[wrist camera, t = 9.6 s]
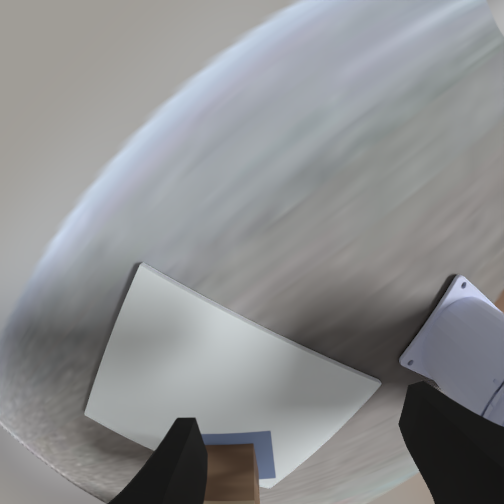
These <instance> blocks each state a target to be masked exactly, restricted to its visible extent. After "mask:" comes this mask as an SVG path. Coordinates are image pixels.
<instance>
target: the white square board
mask: <svg viewBox="0 0 504 504" xmlns="http://www.w3.org/2000/svg"><path fill="white" fill-rule="evenodd" d="M380 386H381V382H380V380H379V379H377V378H374V377H372V376H369V375H367V374H365V373H362V372H360V371H358V370H355V369H353V368H351V367H348V366H346V365H344V364H342V363H339V362H337V361H335V360H333V359H330V358H328V357H326V356H324V355H322V354H319V353H317V352H315V351H313V350H311V349H308V348H306V347H304V346H302V345H300V344H298V343H296V342H294V341H291V340H289V339H287V338H285V337H283V336H281V335H279V334H277V333H275V332H273V331H271V330H269V329H267V328H265V327H263V326H261V325H259V324H257V323H255V322H253V321H251V320H249V319H247V318H245V317H243V316H241V315H239V314H237V313H235V312H233V311H231V310H229V309H227V308H225V307H223V306H221V305H220V304H218V303H216V302H214V301H212V300H210V299H208V298H206V297H204V296H203V295H201V294H199V293H197V292H195V291H193V290H191V289H190V288H188V287H186V286H184V285H182V284H181V283H179V282H177V281H175V280H173V279H172V278H170V277H168V276H166V275H164V274H163V273H161V272H159V271H157V270H156V269H154V268H152V267H150V266H149V265H147V264H145V263H142V264H140V266H139V268H138V270H137V272H136V275H135V277H134V279H133V282H132V284H131V286H130V289H129V291H128V293H127V296H126V298H125V301H124V303H123V306H122V308H121V310H120V313H119V315H118V318H117V321H116V323H115V326H114V328H113V331H112V333H111V336H110V339H109V341H108V344H107V347H106V350H105V352H104V355H103V358H102V361H101V364H100V367H99V370H98V372H97V375H96V378H95V381H94V384H93V388H92V391H91V394H90V397H89V400H88V403H87V407H86V410H85V413H84V415H86V416H87V417H89V418H91V419H92V420H94V421H96V422H98V423H99V424H101V425H103V426H105V427H107V428H109V429H110V430H112V431H114V432H116V433H118V434H120V435H122V436H124V437H126V438H128V439H130V440H132V441H134V442H136V443H138V444H140V445H143V446H145V447H147V448H149V449H151V450H154V451H155V450H156V449H157V447H158V446H159V444H160V443H161V441H162V440H163V438H164V437H165V435H166V434H167V432H168V431H169V429H170V428H171V426H172V424H173V423H174V421H175V420H176V419H177V418H187V417H196V420H197V423H198V426H199V429H200V432H201V435H202V438H203V441H204V444H205V445H232V444H251V443H253V444H254V449H255V455H256V460H257V466H258V471H259V486H261V487H265V488H269V489H270V488H271V487H273V486H274V485H275V484H277V483H278V482H279V481H281V480H282V479H283V478H284V477H286V476H287V475H288V474H289V473H291V472H292V471H293V470H294V469H296V468H297V467H298V466H299V465H300V464H302V463H303V462H304V461H305V460H306V459H307V458H309V457H310V456H311V455H312V454H313V453H314V452H315V451H317V450H318V449H319V448H320V447H321V446H322V445H323V444H324V443H325V442H326V441H328V440H329V439H330V438H331V437H332V436H333V435H334V434H335V433H336V432H337V431H338V430H339V429H340V428H341V427H342V426H343V425H344V424H345V423H346V422H347V421H348V420H349V419H350V418H351V417H352V416H353V415H354V414H355V413H356V412H357V411H358V410H359V409H360V408H361V407H362V406H363V404H364V403H365V402H366V401H367V400H368V399H369V398H370V397H371V396H372V395H373V394H374V392H375V391H376V390H377V389H378V388H379V387H380Z"/></svg>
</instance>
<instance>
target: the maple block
mask: <svg viewBox="0 0 504 504" xmlns="http://www.w3.org/2000/svg"><path fill="white" fill-rule="evenodd" d="M203 504H255V501H254V500H251V501H204V503H203Z"/></svg>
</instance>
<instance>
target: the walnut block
mask: <svg viewBox="0 0 504 504" xmlns="http://www.w3.org/2000/svg"><path fill="white" fill-rule="evenodd" d="M205 447H206V450H207V453H208V471H207V484H206V490H205V497H204V501H251V500H254V501H255V504H260V499H259V471H258V466H257V460H256V455H255V449H254V444H253V443H251V444H232V445H205Z"/></svg>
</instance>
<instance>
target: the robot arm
mask: <svg viewBox="0 0 504 504" xmlns="http://www.w3.org/2000/svg"><path fill="white" fill-rule="evenodd" d="M462 283H463V286H462V287H461V285H462ZM410 360H411V361H410ZM409 361H410V362H409ZM408 362H409V363H408ZM399 363H400V364H401V365H402V366H404V367H406V368H408V369H410V370H412V371H414V372H416V373H419V374H421V375H423V376H425V377H427V378H429V379H432V380H434V381H435V382H436V383H437V385H438V386H439V387H440V388H441V390H442V391H443V392H444V394H443V393H441V392H440V391H438V390H437V389H435V388H434V387H432V386H430V385H429V384H427V383H425V382H424V381H422V382H418V383H415V384H412V385H408V389H407V394H406V398H405V402H404V406H403V410H402V413H401V417H400V421H399V427H400V430H401V433H402V436H403V439H404V441H405V444H406V446H407V448H408V450H409V452H410V454H411V456H412V458H413V460H414V462H415V464H416V465H417V467H418V469H419V471H420V473H421V475H422V477H423V479H424V480H425V482H426V484H427V486H428V488H429V490H430V492H431V494H432V497H433V499H434V502H435V504H504V314H503V313H502V312H501V311H500V310H499V309H498V308H497V307H496V306H495V305H494V304H493V303H492V302H491V301H490V300H489V299H488V298H486V297H485V296H484V295H483V294H482V293H481V292H480V291H479V290H478V289H477V288H476V287H475V286H474V285H473V284H471V283H470V282H469V281H468V280H467V279H466V278H465V277H464V276H462V275H460V274H459V275H457V276H456V277H455V278H454V279H453V281H452V283H451V284H450V286H449V288H448V289H447V291H446V293H445V294H444V296H443V297H442V299H441V300H440V302H439V304H438V305H437V307H436V308H435V310H434V311H433V313H432V314H431V316H430V317H429V319H428V320H427V321H426V323H425V324H424V326H423V327H422V329H421V330H420V331H419V333H418V334H417V336H416V337H415V338H414V340H413V341H412V342H411V344H410V345H409V346H408V348H407V349H406V350H405V352H404V353H403V354H402V355H401V357H400V358H399ZM207 471H208V453H207V450H206V447H205V444H204V441H203V438H202V435H201V432H200V429H199V426H198V423H197V420H196V417H187V418H177V419H176V420H175V421H174V423H173V424H172V426H171V428H170V429H169V431H168V432H167V434H166V435H165V437H164V438H163V440H162V441H161V443H160V444H159V446H158V447H157V449H156V450H155V451H154V453H153V454H152V455H151V457H150V458H149V459H148V461H147V462H146V464H145V465H144V466H143V467H142V469H141V470H140V471H139V472H138V473H137V474H136V476H135V477H134V478H133V479H132V480H131V481H130V483H129V484H128V485H127V486H126V487H125V488H124V489H123V490H122V491H121V492H120V493H119V494H118V495H117V496H116V497H115V498H114V499H113V500H112V501H111V502H109V503H108V504H203V503H204V497H205V490H206V484H207Z"/></svg>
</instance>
